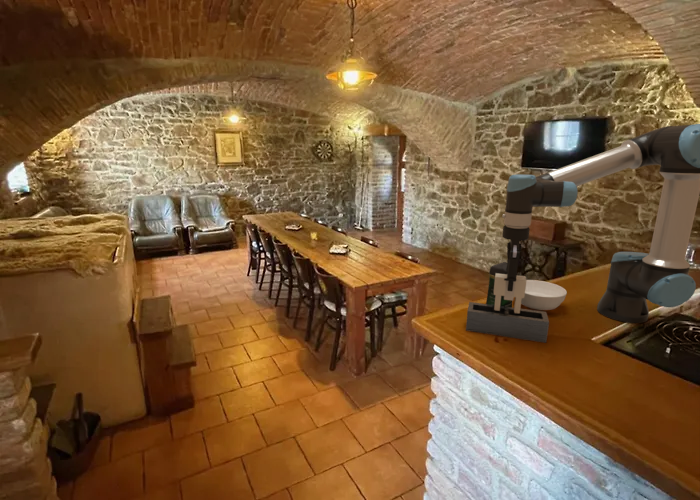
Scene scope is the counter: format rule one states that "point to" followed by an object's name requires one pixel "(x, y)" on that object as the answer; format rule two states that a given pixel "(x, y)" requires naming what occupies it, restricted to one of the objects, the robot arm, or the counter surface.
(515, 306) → the tall white notched block
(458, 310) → the counter surface
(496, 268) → the coffee jar
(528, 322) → the grey rectangular trough
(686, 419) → the counter surface
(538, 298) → the bowl
